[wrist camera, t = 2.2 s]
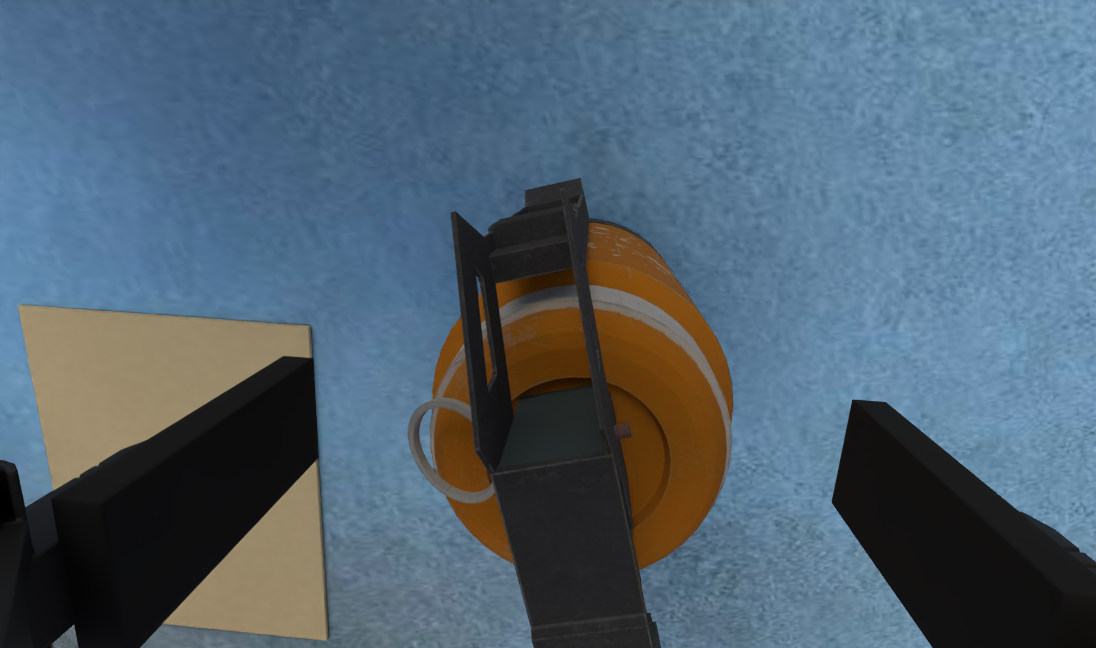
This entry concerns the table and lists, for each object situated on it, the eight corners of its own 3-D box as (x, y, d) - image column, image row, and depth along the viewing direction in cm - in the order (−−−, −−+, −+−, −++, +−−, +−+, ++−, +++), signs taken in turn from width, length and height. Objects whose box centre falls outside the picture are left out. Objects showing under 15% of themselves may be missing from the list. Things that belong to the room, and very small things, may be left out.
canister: (518, 403, 32) (403, 783, 12) (467, 195, 29) (219, 268, 10) (688, 374, 31) (850, 740, 11) (652, 154, 28) (783, 145, 9)
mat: (22, 304, 32) (17, 305, 32) (311, 325, 31) (308, 327, 31) (81, 611, 38) (77, 615, 37) (328, 637, 37) (326, 641, 36)
